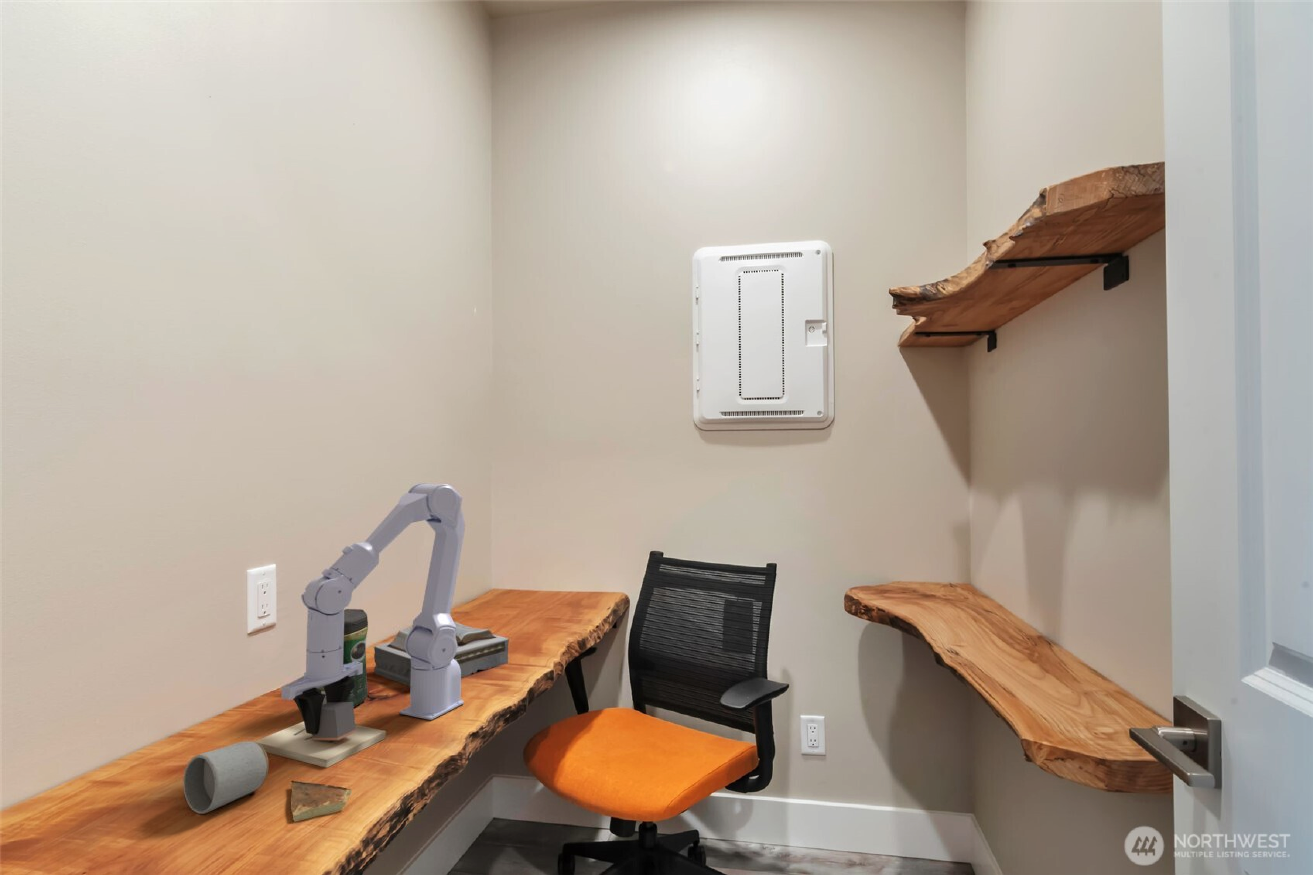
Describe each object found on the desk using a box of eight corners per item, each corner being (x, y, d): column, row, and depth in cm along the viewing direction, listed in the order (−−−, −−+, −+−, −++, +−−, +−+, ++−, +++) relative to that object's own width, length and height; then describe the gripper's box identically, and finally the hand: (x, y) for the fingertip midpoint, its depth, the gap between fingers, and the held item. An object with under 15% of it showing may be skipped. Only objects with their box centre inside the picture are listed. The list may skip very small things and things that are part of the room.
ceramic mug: (272, 792, 94) (273, 738, 94) (214, 820, 86) (215, 761, 87) (226, 778, 98) (227, 727, 98) (167, 804, 91) (168, 748, 91)
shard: (290, 790, 95) (291, 778, 95) (347, 778, 99) (348, 766, 99) (290, 826, 86) (290, 812, 86) (353, 811, 89) (353, 798, 90)
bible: (365, 670, 151) (366, 627, 151) (472, 648, 169) (472, 610, 170) (405, 696, 134) (406, 648, 134) (518, 668, 152) (519, 626, 153)
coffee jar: (338, 695, 133) (340, 605, 134) (373, 698, 132) (375, 606, 132) (305, 713, 123) (308, 615, 124) (343, 716, 122) (345, 617, 123)
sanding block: (330, 732, 112) (328, 702, 112) (355, 731, 110) (353, 701, 110) (312, 740, 108) (309, 709, 109) (337, 740, 106) (335, 709, 107)
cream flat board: (316, 722, 119) (316, 715, 119) (385, 738, 112) (385, 730, 112) (253, 748, 108) (254, 741, 108) (326, 767, 101) (326, 759, 101)
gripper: (343, 635, 119) (341, 709, 118) (269, 656, 106) (267, 740, 105) (372, 639, 116) (370, 715, 116) (299, 662, 103) (297, 748, 102)
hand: (323, 728), depth 110 cm, fingers closed on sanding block, 4 cm apart
